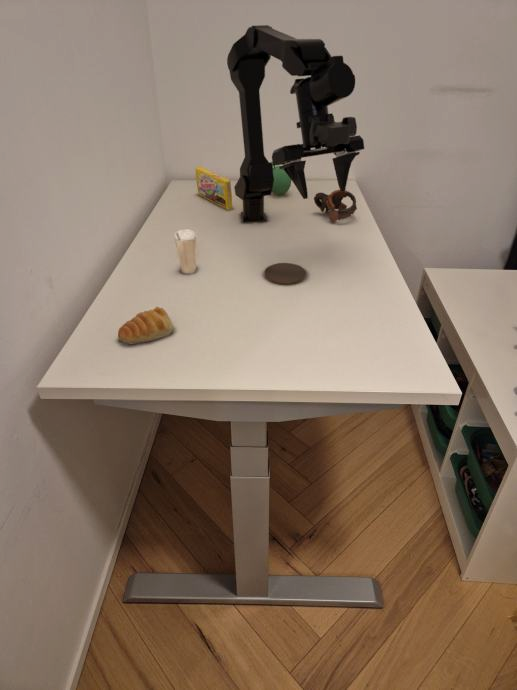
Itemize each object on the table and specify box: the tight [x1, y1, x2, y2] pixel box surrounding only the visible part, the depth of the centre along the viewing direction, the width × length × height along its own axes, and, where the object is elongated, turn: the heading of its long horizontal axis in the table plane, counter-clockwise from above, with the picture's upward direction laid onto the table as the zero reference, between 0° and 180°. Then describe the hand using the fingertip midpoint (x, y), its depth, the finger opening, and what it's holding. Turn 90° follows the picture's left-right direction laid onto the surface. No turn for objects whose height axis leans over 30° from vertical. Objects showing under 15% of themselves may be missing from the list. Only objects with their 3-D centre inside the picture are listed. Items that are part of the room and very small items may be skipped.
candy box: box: [194, 166, 233, 211], centre depth 135 cm, size 16×2×8 cm, turn 37°
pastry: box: [117, 306, 174, 345], centre depth 82 cm, size 9×7×4 cm
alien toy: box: [271, 161, 292, 196], centre depth 140 cm, size 7×8×10 cm
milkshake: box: [173, 228, 197, 274], centre depth 100 cm, size 5×5×10 cm
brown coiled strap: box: [313, 189, 358, 224], centre depth 126 cm, size 12×10×8 cm
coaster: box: [263, 262, 307, 286], centre depth 101 cm, size 9×9×1 cm
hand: (324, 195), depth 96 cm, fingers open, 9 cm apart
